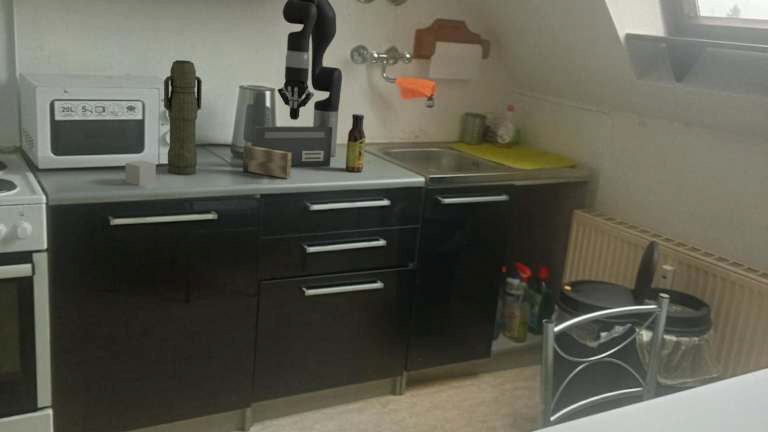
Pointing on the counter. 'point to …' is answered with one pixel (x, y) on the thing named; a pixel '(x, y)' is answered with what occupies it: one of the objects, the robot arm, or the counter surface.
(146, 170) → the light grey cube
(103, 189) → the counter surface
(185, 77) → the thermos
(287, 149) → the panel
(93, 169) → the counter surface
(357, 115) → the sauce bottle
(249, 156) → the wooden block
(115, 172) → the counter surface
